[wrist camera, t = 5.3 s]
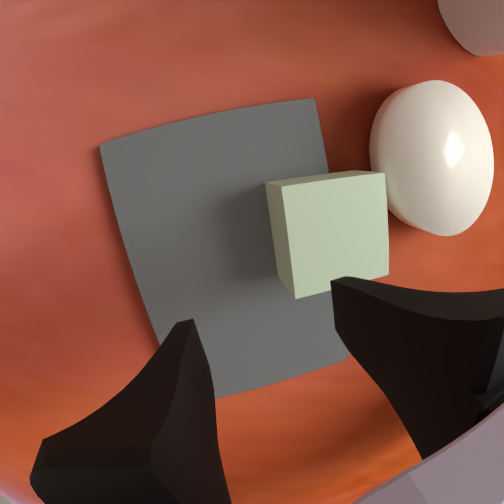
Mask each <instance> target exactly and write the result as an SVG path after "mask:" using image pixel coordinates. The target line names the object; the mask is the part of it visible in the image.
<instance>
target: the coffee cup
mask: <svg viewBox="0 0 504 504" xmlns="http://www.w3.org/2000/svg"><path fill="white" fill-rule="evenodd" d="M437 1H438V7H439V10H440V13H441V16H442V18H443V20H444V22H445V24H446V26H447V28H448V29H449V31H450V32H451V34H452V35H453V37H454V38H455V39H456V40H457V41H458V43H459V44H460V45H461V46H462V47H463V48H464V49H466V50H467V51H468V52H470V53H471V54H473V55H476V56H488V55H500V54H504V0H437Z"/></svg>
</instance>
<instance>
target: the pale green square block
mask: <svg viewBox="0 0 504 504" xmlns="http://www.w3.org/2000/svg"><path fill="white" fill-rule="evenodd" d="M265 188H266V194H267V201H268V208H269V215H270V222H271V229H272V236H273V243H274V250H275V257H276V265H277V272H278V277H279V278H280V280H281V281H282V282H283V284H284V285H285V286H286V287H287V289H288V290H289V291H290V293H291V294H292V295H293V297H294V298H295V299H298V298H302V297H306V296H310V295H314V294H318V293H322V292H326V291H330V290H331V285H330V281H331V280H334V279H338V278H341V277H344V276H350V277H356V278H361V279H366V280H371V279H374V278H378V277H381V276H385V275H388V274H389V237H388V213H387V196H386V183H385V173H382V172H371V171H359V170H351V171H342V172H334V173H326V174H319V175H311V176H304V177H297V178H291V179H284V180H277V181H271V182H265Z"/></svg>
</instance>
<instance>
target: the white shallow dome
mask: <svg viewBox="0 0 504 504" xmlns="http://www.w3.org/2000/svg"><path fill="white" fill-rule="evenodd" d="M369 156H370V166H371V171H372V172H382V173H385V183H386V196H387V208H388V209H389V210H390V211H391V212H392V213H393V215H394V216H395V217H397V218H398V219H399V220H401V221H402V222H404V223H406V224H407V225H410V226H413V227H416V228H419V229H421V230H424V231H427V232H430V233H433V234H436V235H440V236H452V235H456V234H458V233H461V232H463V231H464V230H466V229H467V228H469V227H470V226H471V225H472V224H473V223H474V222H475V221H476V219H477V218H478V217H479V215H480V214H481V212H482V211H483V209H484V207H485V205H486V202H487V200H488V197H489V194H490V190H491V186H492V181H493V172H494V157H493V148H492V142H491V138H490V134H489V131H488V128H487V125H486V123H485V120H484V118H483V116H482V114H481V112H480V111H479V109H478V107H477V106H476V104H475V103H474V102H473V101H472V99H471V98H470V97H469V96H468V95H467V94H466V93H465V92H464V91H462V90H461V89H460V88H458V87H457V86H455V85H453V84H451V83H448V82H445V81H440V80H432V81H427V82H423V83H419V84H415V85H411V86H407V87H404V88H401V89H399V90H397V91H395V92H393V93H392V94H391V95H389V96H388V97H387V99H386V100H385V101H384V102H383V103H382V105H381V106H380V108H379V110H378V112H377V114H376V116H375V119H374V121H373V124H372V129H371V134H370V143H369Z"/></svg>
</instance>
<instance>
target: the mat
mask: <svg viewBox="0 0 504 504" xmlns="http://www.w3.org/2000/svg"><path fill="white" fill-rule="evenodd" d="M99 148H100V152H101V157H102V162H103V166H104V170H105V175H106V179H107V183H108V187H109V191H110V195H111V199H112V203H113V207H114V210H115V214H116V218H117V221H118V225H119V228H120V232H121V235H122V239H123V242H124V245H125V249H126V252H127V255H128V258H129V261H130V264H131V267H132V271H133V274H134V277H135V279H136V282H137V285H138V288H139V291H140V294H141V297H142V300H143V302H144V305H145V308H146V310H147V313H148V316H149V318H150V321H151V324H152V326H153V329H154V331H155V334H156V336H157V339H158V341H159V344H160V346H161V344H162V343H163V341H164V340H165V338H166V337H167V335H168V334H169V332H170V331H171V329H172V328H173V326H174V325H175V323H176V322H180V321H185V320H189V319H194V322H195V325H196V328H197V331H198V334H199V337H200V340H201V343H202V346H203V348H204V351H205V354H206V357H207V360H208V363H209V365H210V370H211V375H212V381H213V386H214V396H215V399H216V398H220V397H224V396H228V395H232V394H236V393H240V392H244V391H248V390H252V389H255V388H259V387H263V386H266V385H270V384H273V383H276V382H280V381H283V380H286V379H290V378H293V377H296V376H299V375H302V374H305V373H308V372H311V371H314V370H317V369H320V368H323V367H326V366H329V365H332V364H334V363H337V362H340V361H343V360H345V359H348V358H349V351H348V349H347V348H346V346H345V345H344V343H343V342H342V340H341V338H340V337H339V335H338V333H337V332H336V330H335V324H334V313H333V303H332V294H331V290H330V291H326V292H322V293H318V294H314V295H310V296H306V297H302V298H298V299H295V298H294V297H293V295H292V294H291V293H290V291H289V290H288V289H287V287H286V286H285V285H284V284H283V282H282V281H281V280H280V278H279V277H278V272H277V265H276V257H275V250H274V243H273V236H272V229H271V222H270V215H269V208H268V201H267V194H266V188H265V182H271V181H277V180H284V179H291V178H297V177H304V176H311V175H319V174H326V173H329V170H328V164H327V158H326V153H325V147H324V142H323V137H322V132H321V127H320V122H319V117H318V112H317V108H316V103H315V99H314V98H310V99H301V100H292V101H284V102H277V103H270V104H263V105H256V106H250V107H244V108H239V109H233V110H228V111H223V112H218V113H213V114H208V115H203V116H199V117H194V118H190V119H186V120H182V121H177V122H173V123H170V124H166V125H162V126H158V127H154V128H151V129H147V130H144V131H140V132H137V133H133V134H130V135H127V136H124V137H120V138H117V139H114V140H111V141H108V142H105V143H102V144H99Z"/></svg>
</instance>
